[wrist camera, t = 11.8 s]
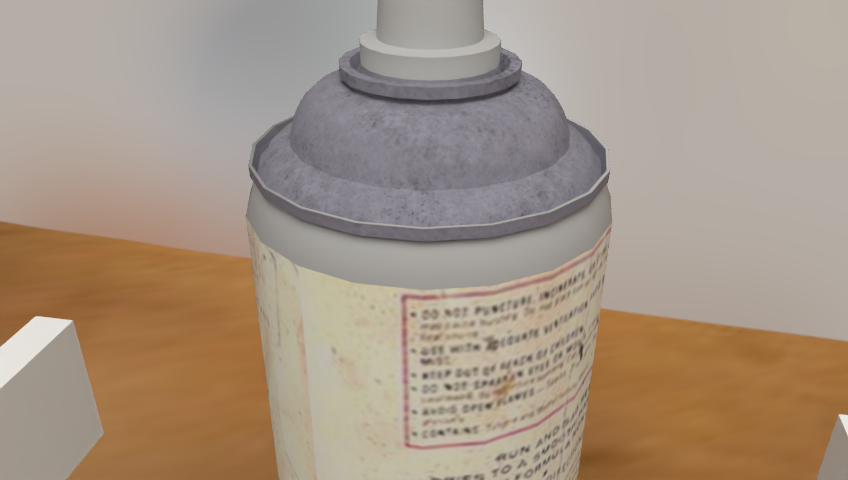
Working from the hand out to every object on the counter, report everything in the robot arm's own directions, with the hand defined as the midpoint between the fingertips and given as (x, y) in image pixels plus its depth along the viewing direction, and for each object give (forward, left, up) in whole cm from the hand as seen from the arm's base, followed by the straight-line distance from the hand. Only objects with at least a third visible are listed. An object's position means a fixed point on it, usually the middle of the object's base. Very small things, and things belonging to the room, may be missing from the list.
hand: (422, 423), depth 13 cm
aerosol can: (0, +3, -13) cm, 13 cm away
